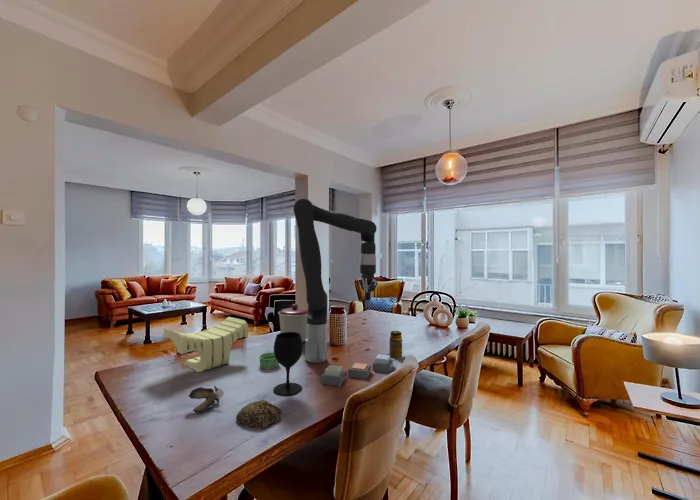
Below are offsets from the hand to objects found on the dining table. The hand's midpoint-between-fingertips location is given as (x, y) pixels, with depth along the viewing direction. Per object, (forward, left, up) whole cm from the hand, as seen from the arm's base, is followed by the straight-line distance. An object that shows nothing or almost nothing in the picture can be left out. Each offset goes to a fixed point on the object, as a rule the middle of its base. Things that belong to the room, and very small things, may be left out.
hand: (367, 300), depth 146 cm
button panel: (+1, -18, -28) cm, 33 cm away
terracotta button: (+1, -18, -28) cm, 33 cm away
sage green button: (-7, -27, -26) cm, 38 cm away
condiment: (+12, +8, -28) cm, 32 cm away
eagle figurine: (-40, -59, -28) cm, 76 cm away
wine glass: (-20, -40, -28) cm, 53 cm away
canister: (-45, +15, -28) cm, 56 cm away
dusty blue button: (+9, -8, -26) cm, 29 cm away
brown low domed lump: (-19, -59, -28) cm, 69 cm away
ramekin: (-39, -21, -28) cm, 53 cm away
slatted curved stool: (-65, -29, -28) cm, 77 cm away
